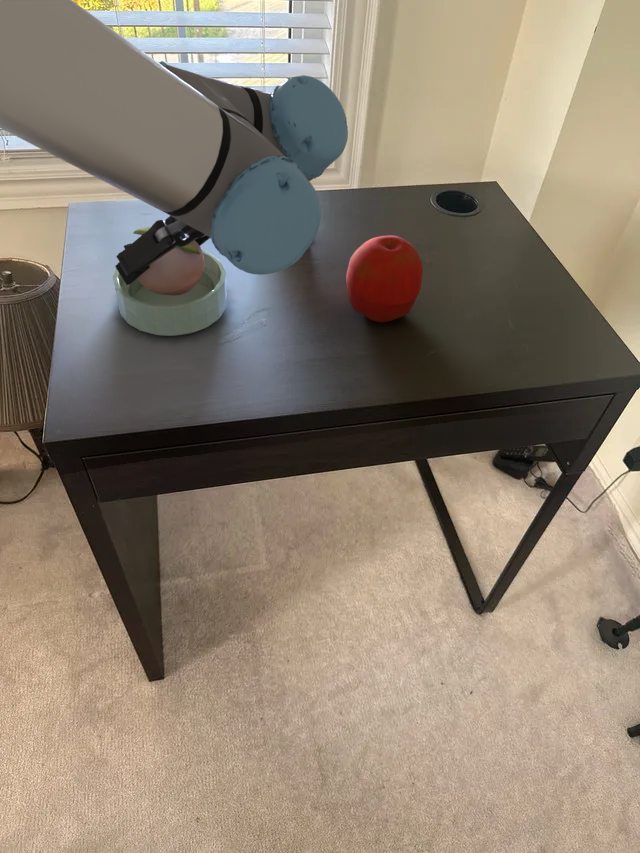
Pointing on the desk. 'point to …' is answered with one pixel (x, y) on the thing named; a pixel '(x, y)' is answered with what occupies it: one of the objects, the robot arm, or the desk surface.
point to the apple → (384, 278)
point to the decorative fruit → (174, 269)
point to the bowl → (175, 303)
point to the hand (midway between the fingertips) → (153, 260)
